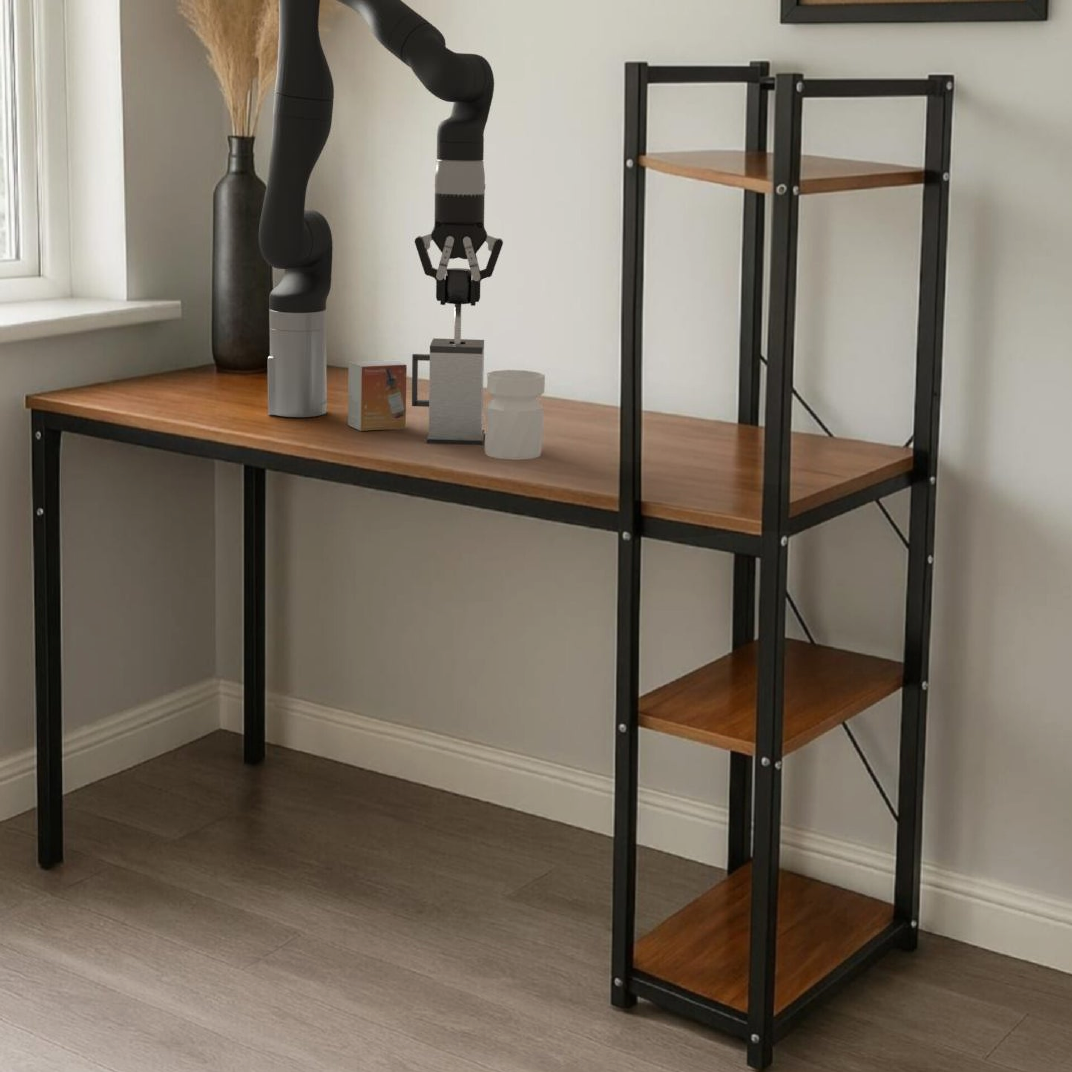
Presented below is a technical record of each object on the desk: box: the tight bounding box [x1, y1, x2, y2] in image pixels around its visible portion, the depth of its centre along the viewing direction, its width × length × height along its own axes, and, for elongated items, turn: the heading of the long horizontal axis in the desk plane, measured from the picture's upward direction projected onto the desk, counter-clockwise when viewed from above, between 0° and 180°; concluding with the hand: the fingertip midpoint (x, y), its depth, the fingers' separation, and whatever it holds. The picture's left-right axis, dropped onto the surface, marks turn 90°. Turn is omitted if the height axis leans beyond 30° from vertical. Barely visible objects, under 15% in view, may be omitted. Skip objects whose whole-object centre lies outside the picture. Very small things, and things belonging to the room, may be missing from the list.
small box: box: [347, 359, 408, 432], centre depth 268 cm, size 8×6×10 cm
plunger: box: [445, 267, 472, 344], centre depth 259 cm, size 5×5×21 cm
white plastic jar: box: [484, 369, 546, 461], centre depth 252 cm, size 9×9×12 cm
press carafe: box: [411, 338, 485, 446], centre depth 261 cm, size 11×9×15 cm
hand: (458, 304), depth 258 cm, fingers closed on plunger, 4 cm apart
